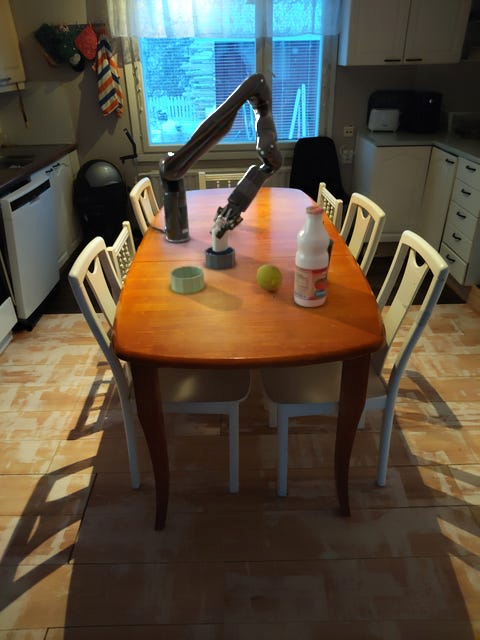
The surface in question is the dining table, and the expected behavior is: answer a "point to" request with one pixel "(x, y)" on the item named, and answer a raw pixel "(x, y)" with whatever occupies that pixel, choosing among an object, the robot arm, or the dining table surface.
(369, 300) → the dining table surface
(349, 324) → the dining table surface
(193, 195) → the dining table surface
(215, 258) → the slate cup
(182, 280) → the celadon cup
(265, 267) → the lemon
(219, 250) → the eye dropper bottle
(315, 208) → the fruit juice
